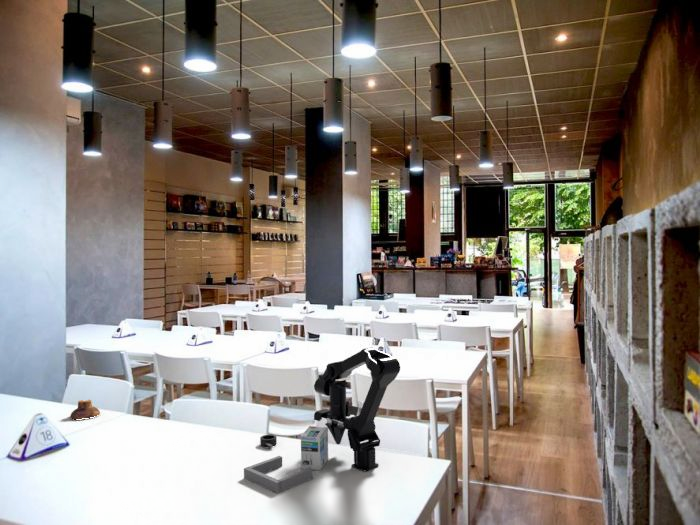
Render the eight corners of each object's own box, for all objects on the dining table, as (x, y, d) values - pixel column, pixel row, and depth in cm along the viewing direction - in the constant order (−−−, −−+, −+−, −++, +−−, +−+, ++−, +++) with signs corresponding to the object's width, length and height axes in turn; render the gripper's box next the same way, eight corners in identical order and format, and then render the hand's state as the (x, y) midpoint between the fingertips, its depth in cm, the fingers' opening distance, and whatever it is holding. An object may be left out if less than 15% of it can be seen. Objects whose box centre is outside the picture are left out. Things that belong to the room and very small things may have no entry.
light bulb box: (320, 470, 170) (320, 437, 170) (300, 469, 171) (300, 435, 171) (328, 458, 180) (328, 426, 180) (309, 457, 182) (309, 425, 181)
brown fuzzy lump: (63, 420, 227) (63, 403, 227) (82, 412, 239) (82, 396, 239) (88, 421, 225) (88, 404, 225) (106, 413, 237) (105, 396, 237)
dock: (312, 478, 164) (312, 468, 164) (277, 493, 154) (277, 482, 154) (279, 464, 175) (279, 455, 175) (244, 478, 165) (243, 468, 165)
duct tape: (283, 441, 198) (283, 433, 198) (272, 451, 188) (272, 442, 188) (265, 439, 200) (265, 432, 200) (252, 448, 190) (252, 440, 190)
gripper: (373, 398, 183) (374, 444, 183) (335, 389, 196) (335, 432, 196) (351, 405, 175) (352, 453, 175) (312, 395, 188) (313, 440, 188)
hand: (338, 444), depth 184 cm, fingers closed
